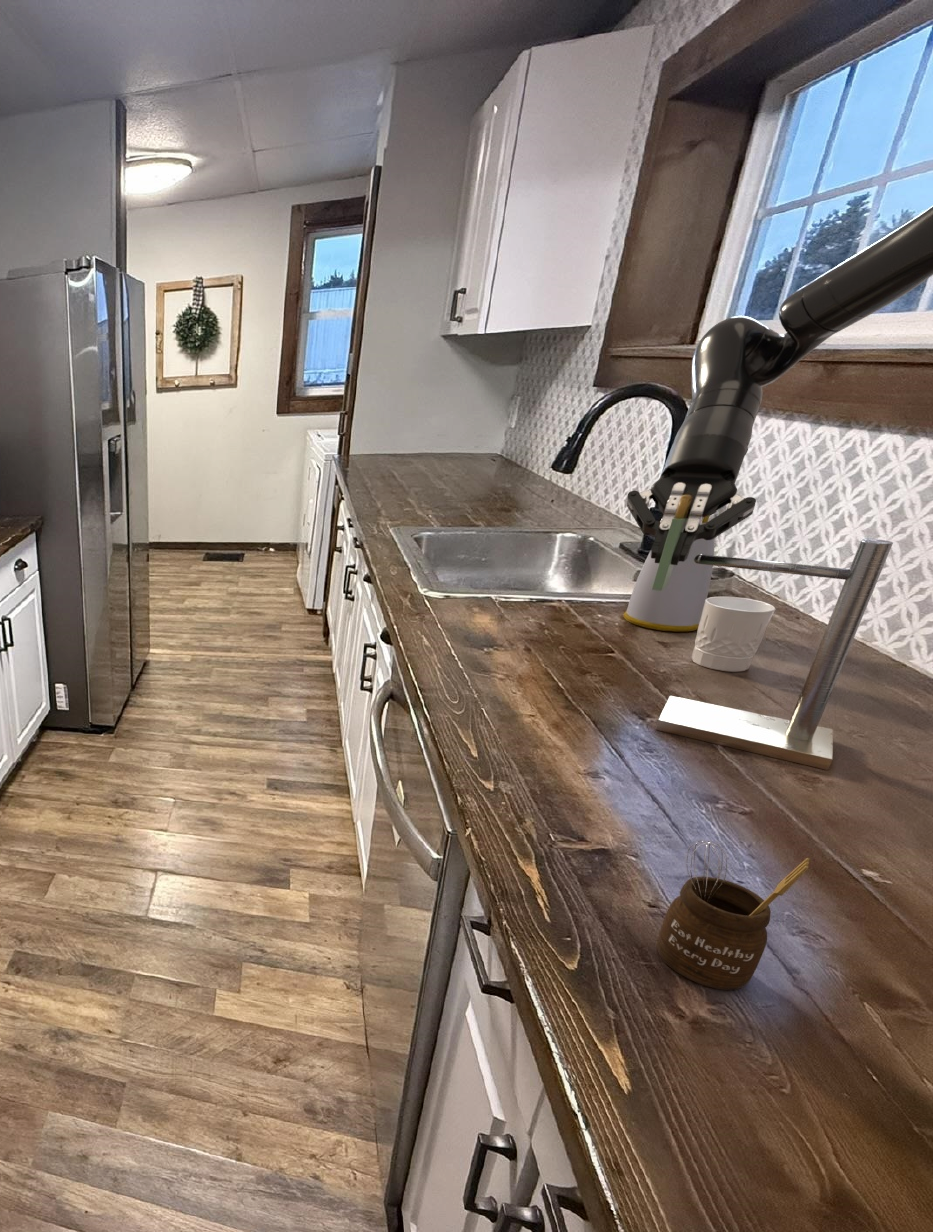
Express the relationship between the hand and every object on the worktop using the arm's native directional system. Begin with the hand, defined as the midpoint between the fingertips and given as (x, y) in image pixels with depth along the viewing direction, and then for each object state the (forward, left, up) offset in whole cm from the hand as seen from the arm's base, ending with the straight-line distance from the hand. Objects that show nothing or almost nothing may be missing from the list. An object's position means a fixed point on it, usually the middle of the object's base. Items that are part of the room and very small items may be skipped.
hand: (666, 560), depth 91 cm
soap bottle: (-12, -46, -22) cm, 52 cm away
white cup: (-16, -26, -22) cm, 38 cm away
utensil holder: (+2, +52, -22) cm, 56 cm away
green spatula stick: (0, -1, -4) cm, 4 cm away
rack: (-11, +1, -22) cm, 25 cm away
